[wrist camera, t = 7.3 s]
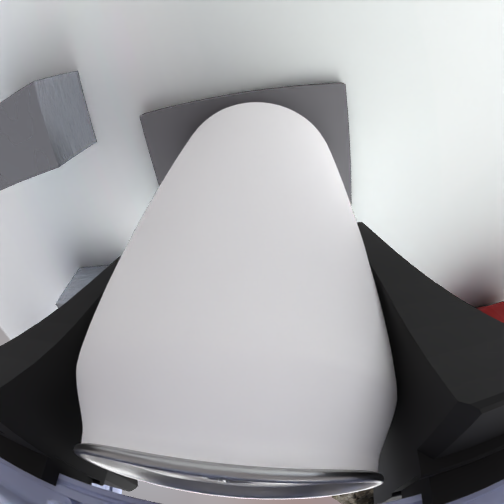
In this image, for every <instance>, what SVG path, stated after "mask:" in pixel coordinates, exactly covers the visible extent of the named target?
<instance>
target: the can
mask: <svg viewBox="0 0 504 504" xmlns="http://www.w3.org/2000/svg"><path fill="white" fill-rule="evenodd" d="M76 382H77V391H78V398H79V404H80V410H81V416H82V424H83V432H82V441H81V443H80V444H76V445H75V446H74V453H75V454H76V455H77V456H79V457H80V458H82V459H84V460H86V461H88V462H90V463H92V464H94V465H97V466H99V467H101V468H104V469H106V470H109V471H112V472H114V473H117V474H120V475H123V476H126V477H129V478H132V479H136V480H139V481H143V482H146V483H150V484H154V485H158V486H162V487H167V488H172V489H177V490H182V491H187V492H192V493H199V494H206V495H213V496H222V497H233V498H247V499H303V498H316V497H326V496H334V495H341V494H347V493H353V492H358V491H362V490H367V489H370V488H374V487H376V486H379V485H381V484H382V483H383V482H384V476H383V475H382V474H380V473H378V462H379V456H380V452H381V449H382V446H383V444H384V441H385V438H386V436H387V433H388V430H389V428H390V425H391V422H392V419H393V416H394V412H395V408H396V403H397V384H396V376H395V370H394V363H393V357H392V352H391V347H390V342H389V338H388V333H387V328H386V324H385V320H384V315H383V311H382V307H381V303H380V299H379V296H378V292H377V288H376V285H375V281H374V278H373V274H372V271H371V268H370V265H369V261H368V257H367V254H366V250H365V246H364V243H363V240H362V237H361V233H360V230H359V227H358V224H357V221H356V218H355V215H354V212H353V210H352V207H351V204H350V201H349V198H348V195H347V193H346V190H345V187H344V184H343V182H342V179H341V177H340V174H339V171H338V169H337V166H336V164H335V161H334V159H333V157H332V154H331V152H330V150H329V147H328V145H327V143H326V142H325V140H324V138H323V137H322V135H321V134H320V132H319V131H318V130H317V129H316V128H315V126H314V125H313V124H312V123H310V122H309V121H308V120H307V119H306V118H304V117H303V116H301V115H300V114H298V113H296V112H295V111H293V110H290V109H288V108H286V107H283V106H280V105H276V104H271V103H263V102H249V103H242V104H237V105H233V106H230V107H227V108H225V109H223V110H221V111H219V112H217V113H215V114H214V115H212V116H211V117H209V118H208V119H207V120H206V121H204V122H203V123H202V124H201V125H200V126H199V127H198V129H197V130H196V131H195V132H194V134H193V135H192V136H191V138H190V139H189V141H188V142H187V144H186V145H185V147H184V148H183V150H182V151H181V153H180V154H179V156H178V157H177V159H176V160H175V162H174V163H173V165H172V167H171V168H170V170H169V171H168V173H167V175H166V176H165V178H164V180H163V181H162V183H161V185H160V186H159V188H158V190H157V191H156V193H155V195H154V196H153V198H152V200H151V202H150V203H149V205H148V207H147V209H146V210H145V212H144V214H143V216H142V218H141V219H140V221H139V223H138V225H137V227H136V229H135V230H134V232H133V234H132V236H131V238H130V240H129V242H128V244H127V246H126V248H125V250H124V252H123V254H122V256H121V258H120V260H119V262H118V264H117V266H116V268H115V270H114V272H113V274H112V276H111V278H110V280H109V282H108V284H107V287H106V289H105V291H104V293H103V295H102V298H101V300H100V302H99V304H98V307H97V309H96V311H95V314H94V316H93V318H92V321H91V323H90V326H89V328H88V331H87V334H86V336H85V339H84V342H83V345H82V347H81V350H80V354H79V358H78V362H77V366H76Z"/></svg>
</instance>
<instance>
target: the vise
mask: <svg viewBox="0 0 504 504" xmlns="http://www.w3.org/2000/svg"><path fill="white" fill-rule="evenodd" d="M96 142H97V141H96V138H95V134H94V131H93V128H92V124H91V121H90V117H89V114H88V110H87V106H86V103H85V99H84V95H83V91H82V87H81V83H80V79H79V75H78V71H75V72H70V73H65V74H61V75H57V76H53V77H49V78H45V79H41V80H37V81H34V82H32V83H30V84H29V85H27V86H25V87H24V88H22V89H20V90H19V91H17V92H16V93H14V94H13V95H11V96H10V97H8V98H7V99H5V100H4V101H2V102H1V103H0V190H2V189H5V188H7V187H9V186H12V185H14V184H17V183H19V182H21V181H24V180H26V179H29V178H31V177H34V176H37V175H39V174H42V173H45V172H47V171H50V170H53V169H56V168H58V167H60V166H62V165H63V164H64V163H66V162H67V161H69V160H70V159H72V158H73V157H74V156H76V155H77V154H79V153H80V152H82V151H83V150H85V149H87V148H88V147H90V146H91V145H93V144H94V143H96ZM108 266H109V265H105V266H95V267H85V268H79V269H78V271H77V272H76V274H75V275H74V277H73V278H72V280H71V281H70V283H69V284H68V286H67V287H66V289H65V290H64V292H63V293H62V295H61V296H60V298H59V299H58V301H57V303H56V305H57V307H58V308H60V307H61V306H62V305H63V304H65V303H66V302H67V301H68V300H70V299H71V298H72V297H73V296H74V295H75V294H77V293H78V292H79V291H80V290H81V289H83V288H84V287H85V286H86V285H87V284H89V283H90V282H91V281H92V280H93V279H94V278H95V277H97V276H98V275H99V274H100V273H101V272H102V271H103V270H105V269H106V268H107V267H108Z"/></svg>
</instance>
